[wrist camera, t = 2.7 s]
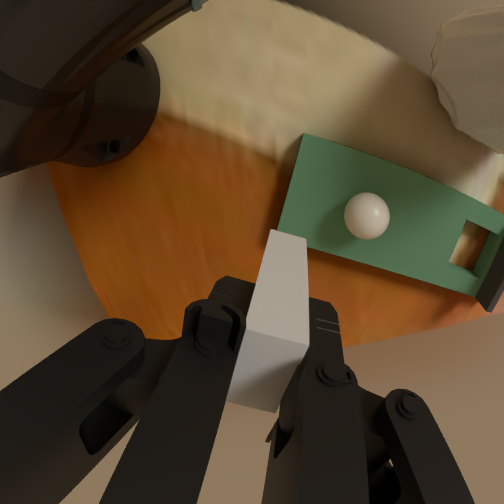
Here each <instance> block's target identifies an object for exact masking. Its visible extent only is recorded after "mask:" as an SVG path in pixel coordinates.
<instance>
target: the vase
mask: <svg viewBox="0 0 504 504" xmlns="http://www.w3.org/2000/svg"><path fill="white" fill-rule="evenodd" d="M431 57H432V63H433V68H432V70H431V72H430V76H431V79H432V81H433V83H434V84H435V86H436V88H437V91H438V97H439V101H440V103H441V104H442V105H443V107H444V108H445V109H446V111H447V112H448V113H449V116H450V119H451V122H452V123H453V125H454V126H455V128H456V129H457V130H460V131H462V132H464V133H466V134H467V135H468V136H469V137H470V138H471V139H473V140H475V141H478V142H480V143H482V144H484V145H486V146H488V147H489V148H491V149H492V150H493V151H494V152H496V153H498V154H504V5H494V6H483V7H475V8H469V9H467V10H465V11H463V12H462V13H460V14H458V15H457V16H455V17H453V18H452V19H450V20H448V21H447V22H445V23H443V24H442V25H440V26H439V28H438V32H437V41H436V43H435V45H434V48H433V50H432V53H431Z"/></svg>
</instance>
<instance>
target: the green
mask: <svg viewBox="0 0 504 504" xmlns="http://www.w3.org/2000/svg"><path fill="white" fill-rule="evenodd" d="M360 193H373V194H376V195H378V196H379V197H381V198H382V199H383V200H384V202H385V203H386V204H387V206H388V209H389V213H390V219H389V224H388V227H387V228H386V230H385V231H384V233H383V234H381V235H380V236H379V237H377V238H374V239H369V240H366V239H361V238H358V237H356V236H355V235H353V234H352V233H351V232H350V231H349V229H348V228H347V226H346V224H345V220H344V211H345V207H346V205H347V203H348V202H349V200H350V199H351V198H352V197H354V196H355V195H357V194H360ZM466 219H467V220H469V221H471V222H473V223H475V224H477V225H479V226H482V227H484V228H486V229H488V230H490V232H489V235H488V237H487V240H486V242H485V244H484V247H483V249H482V251H481V253H480V256H479V258H478V260H477V262H476V264H475V266H474V268H473V271H471V270H468V269H465V268H463V267H460V266H457V265H454V264H452V263H449V259H450V257H451V255H452V253H453V251H454V248H455V246H456V244H457V241H458V239H459V237H460V234H461V232H462V229H463V227H464V224H465V222H466ZM276 231H280V232H284V233H287V234H291V235H294V236H298V237H301V238H305V239H306V244H307V247H309V248H312V249H316V250H319V251H323V252H327V253H330V254H333V255H337V256H340V257H344V258H347V259H351V260H354V261H358V262H361V263H365V264H368V265H371V266H375V267H378V268H382V269H385V270H388V271H392V272H395V273H398V274H402V275H405V276H408V277H412V278H415V279H418V280H422V281H425V282H428V283H431V284H435V285H438V286H441V287H444V288H448V289H451V290H454V291H457V292H460V293H464V294H467V295H470V296H473V297H475V298H476V299H477V300H478V301H479V303H480V304H481V305H482V307H483V308H484V309H485V311H487V312H492V310H493V309H494V307H495V305H496V303H497V302H498V300H499V298H500V296H501V294H502V292H503V291H504V215H503V214H502V213H500V212H498V211H496V210H494V209H493V208H491V207H489V206H487V205H485V204H483V203H481V202H479V201H477V200H475V199H473V198H471V197H469V196H467V195H465V194H463V193H461V192H459V191H457V190H455V189H453V188H451V187H449V186H446V185H444V184H442V183H440V182H438V181H435V180H433V179H431V178H429V177H426V176H424V175H422V174H419V173H417V172H414V171H412V170H410V169H407V168H405V167H402V166H400V165H397V164H394V163H392V162H389V161H387V160H384V159H381V158H379V157H376V156H373V155H370V154H367V153H365V152H362V151H359V150H356V149H353V148H350V147H347V146H344V145H341V144H338V143H335V142H331V141H328V140H325V139H322V138H318V137H315V136H311V135H308V134H304V133H303V136H302V140H301V143H300V147H299V151H298V155H297V158H296V162H295V166H294V169H293V173H292V177H291V180H290V184H289V188H288V191H287V195H286V198H285V202H284V206H283V209H282V213H281V216H280V220H279V223H278V227H277V230H276Z"/></svg>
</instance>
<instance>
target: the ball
mask: <svg viewBox="0 0 504 504" xmlns="http://www.w3.org/2000/svg"><path fill="white" fill-rule="evenodd" d="M389 219H390V213H389V209H388V206H387V204H386V203H385V202H384V200H383V199H382V198H381V197H379V196H378V195H376V194H373V193H360V194H357V195H355V196H354V197H352V198H351V199H350V200H349V202H348V203H347V205H346V207H345V211H344V220H345V224H346V226H347V228H348V229H349V231H350V232H351V233H352V234H353V235H355V236H356V237H358V238H361V239H366V240H369V239H374V238H377V237H379V236H380V235H381V234H383V233H384V231H385V230H386V228H387V227H388V224H389Z"/></svg>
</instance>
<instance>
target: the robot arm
mask: <svg viewBox="0 0 504 504" xmlns="http://www.w3.org/2000/svg"><path fill="white" fill-rule="evenodd" d="M206 1H208V0H0V177H3V176H6V175H9V174H11V173H14V172H17V171H20V170H23V169H26V168H30V167H33V166H36V165H39V164H43V163H46V162H50V161H58V162H62V163H67V164H71V165H76V166H81V167H95V166H100V165H104V164H107V163H111V162H114V161H116V160H119V159H121V158H122V157H124V156H126V155H127V154H128V153H130V152H131V151H132V150H133V149H134V148H135V147H136V146H137V145H138V144H139V143H140V142H141V141H142V139H143V138H144V137H145V135H146V134H147V132H148V130H149V129H150V127H151V125H152V122H153V120H154V118H155V115H156V112H157V108H158V104H159V98H160V77H159V72H158V68H157V65H156V63H155V60H154V58H153V56H152V55H151V53H150V52H149V51H148V49H147V48H146V47H145V46H144V45H143V44H141V43H142V42H143V41H145V40H146V39H147V38H149V37H150V36H152V35H153V34H155V33H156V32H158V31H159V30H161V29H162V28H164V27H165V26H167V25H168V24H170V23H171V22H173V21H175V20H176V19H178V18H179V17H181V16H183V15H184V14H186V13H188V12H189V11H191V10H192V11H193V12H196V11H198V10H200V9H201V8H202V5H203V3H205V2H206ZM338 324H339V321H338V315H337V312H336V310H335V309H334V308H333V306H332V305H331V303H330V302H326V301H322V300H318V299H314V298H311V297H309V296H308V266H307V244H306V239H305V238H301V237H298V236H294V235H291V234H287V233H284V232H280V231H276V230H273V229H271V231H270V234H269V238H268V241H267V245H266V249H265V252H264V256H263V259H262V263H261V267H260V270H259V274H258V277H257V281H256V284H255V283H251V282H248V281H244V280H240V279H237V278H233V277H230V276H225V277H223V278H221V279H220V280H218V281H216V283H215V285H214V287H213V289H212V292H211V293H210V295H209V297H208V299H202V300H198V301H195V302H192V303H191V304H190V305H189V306H187V307H186V308H185V315H184V322H183V330H182V337H180V338H178V339H173V340H156V339H146V338H145V336H144V334H143V332H142V330H141V329H140V328H139V327H138V326H137V325H136V324H134V323H132V322H130V321H127V320H125V319H117V318H112V319H105V320H102V321H100V322H98V323H95V324H94V325H92V326H91V327H90V328H88V329H87V330H85V331H84V332H82V333H81V334H79V335H78V336H77V337H75V338H74V339H72V340H71V341H69V342H68V343H66V344H65V345H64V346H62V347H61V348H60V349H58V350H57V351H55V352H54V353H52V354H51V355H49V356H48V357H47V358H45V359H44V360H42V361H41V362H40V363H38V364H37V365H35V366H34V367H33V368H31V369H30V370H28V371H27V372H26V373H24V374H23V375H21V376H20V377H19V378H18V379H16V380H15V381H13V382H12V383H11V384H9V385H8V386H7V387H5V388H4V389H2V390H1V391H0V504H59V503H60V502H61V501H62V500H63V499H64V498H65V497H66V496H67V495H68V494H69V493H70V492H71V491H72V489H74V488H75V486H77V485H78V484H79V483H80V482H81V481H82V479H84V477H85V476H86V475H87V474H88V473H89V472H90V471H91V470H92V469H93V468H94V467H95V466H96V465H97V464H98V463H99V462H100V461H101V460H102V459H103V458H104V457H105V456H106V454H107V453H108V452H109V451H110V450H111V449H112V448H113V447H114V446H115V445H116V444H117V443H118V442H119V441H120V440H121V439H122V438H123V436H124V435H125V434H126V433H127V432H128V431H129V430H130V429H131V428H132V427H133V426H134V425H135V424H136V422H137V421H138V420H139V419H140V420H139V422H138V424H137V426H136V428H135V430H134V432H133V434H132V436H131V438H130V440H129V442H128V444H127V446H126V448H125V450H124V452H123V454H122V456H121V458H120V460H119V462H118V464H117V466H116V469H115V471H114V473H113V475H112V477H111V479H110V481H109V483H108V485H107V487H106V490H105V492H104V494H103V496H102V498H101V500H100V502H99V504H196V503H197V500H198V497H199V493H200V490H201V486H202V483H203V480H204V476H205V473H206V469H207V465H208V462H209V459H210V455H211V452H212V448H213V445H214V441H215V437H216V434H217V430H218V427H219V423H220V420H221V416H222V412H223V409H224V405H225V402H226V401H228V402H232V403H235V404H239V405H243V406H247V407H251V408H255V409H260V410H264V411H268V412H273V413H276V411H277V409H278V407H279V405H280V411H279V417H278V419H277V421H276V423H275V424H274V426H273V428H272V429H271V431H270V433H269V435H268V436H267V439H266V441H265V442H268V443H269V442H270V440H271V446H270V452H269V459H268V466H267V472H266V479H265V485H264V491H263V497H262V503H261V504H475V503H474V501H473V498H472V496H471V494H470V491H469V489H468V487H467V485H466V483H465V480H464V478H463V476H462V474H461V472H460V469H459V467H458V465H457V463H456V461H455V459H454V457H453V455H452V453H451V451H450V449H449V447H448V445H447V443H446V441H445V439H444V437H443V435H442V433H441V431H440V429H439V427H438V425H437V423H436V421H435V420H434V417H433V416H432V414H431V412H430V410H429V408H428V407H427V405H426V403H425V402H424V401H423V399H422V398H421V397H419V396H418V395H417V394H415V393H414V392H411V391H409V390H407V389H396V390H393V391H391V392H390V393H389V394H388V395H387V396H386V397H385V398H383V397H381V396H378V395H376V394H374V393H371V392H369V391H367V390H365V389H363V388H361V387H360V386H358V382H357V379H356V376H355V374H354V372H353V371H352V370H351V369H350V367H349V366H347V365H346V364H344V357H343V349H342V342H341V335H340V334H339V333H340V328H339V325H338ZM389 459H391V461H392V464H393V466H394V467H393V466H391V464H390V462H389Z"/></svg>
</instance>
